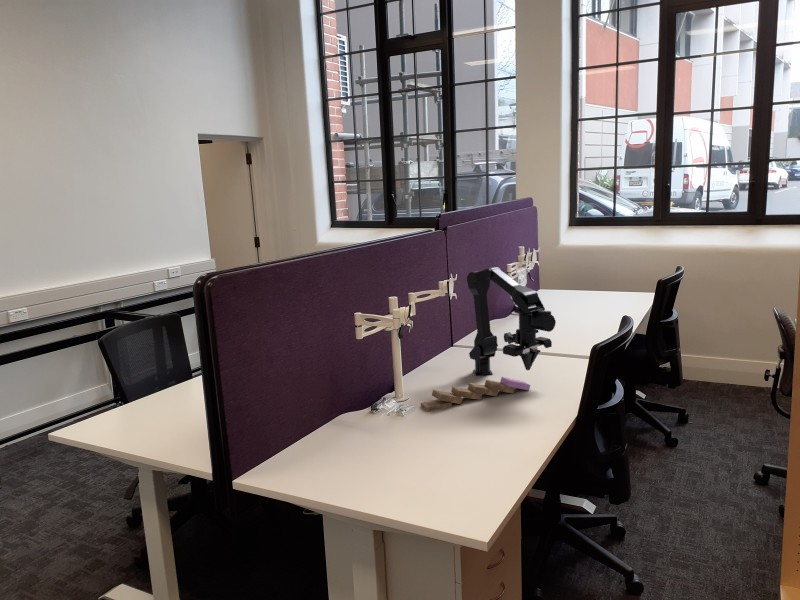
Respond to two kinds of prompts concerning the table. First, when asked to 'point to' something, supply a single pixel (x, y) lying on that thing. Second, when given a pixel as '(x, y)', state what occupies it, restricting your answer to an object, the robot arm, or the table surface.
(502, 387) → the walnut domino
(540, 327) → the robot arm
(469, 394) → the walnut domino
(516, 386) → the plum domino
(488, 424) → the table surface
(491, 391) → the walnut domino
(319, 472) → the table surface
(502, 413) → the table surface
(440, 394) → the walnut domino
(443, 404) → the walnut domino
